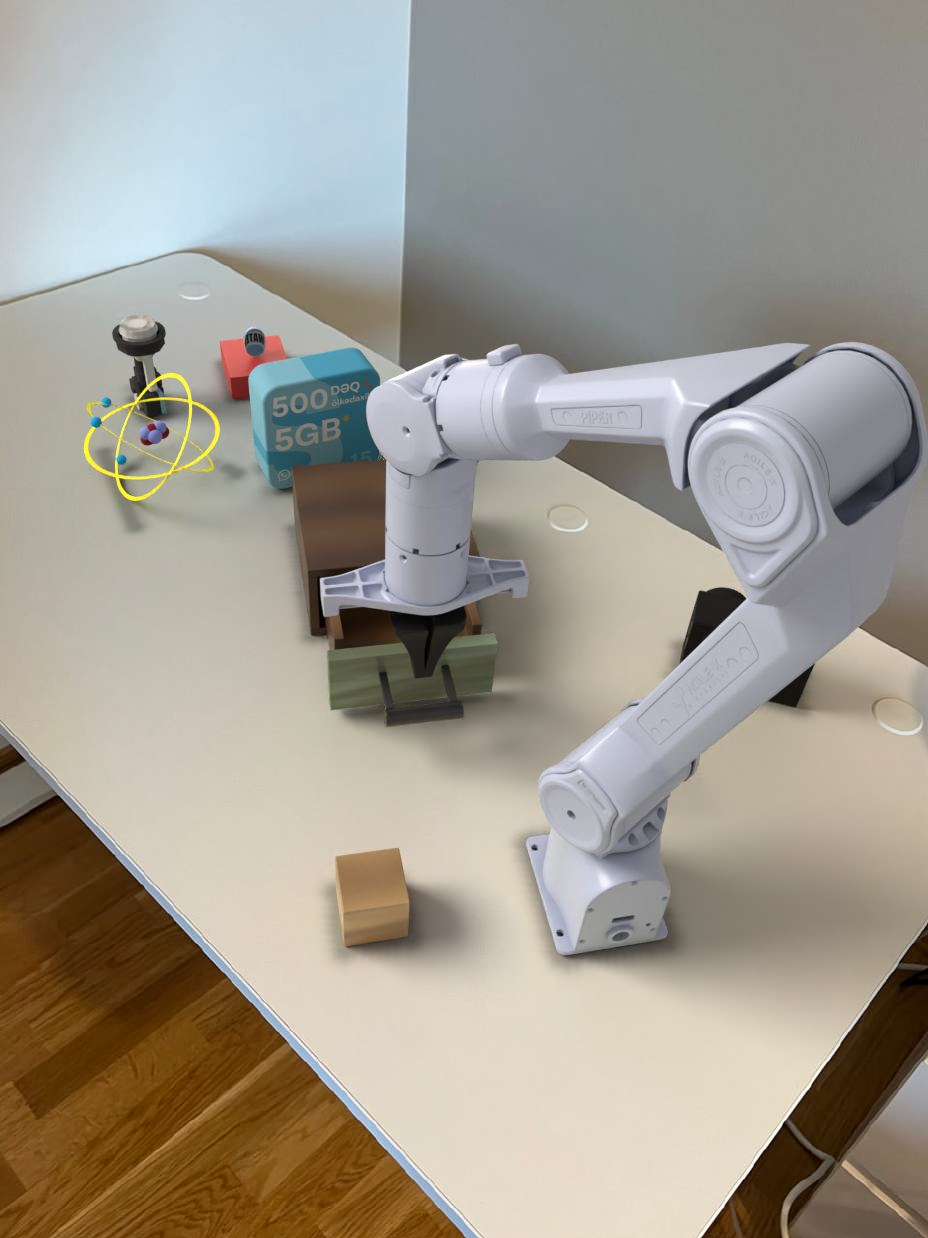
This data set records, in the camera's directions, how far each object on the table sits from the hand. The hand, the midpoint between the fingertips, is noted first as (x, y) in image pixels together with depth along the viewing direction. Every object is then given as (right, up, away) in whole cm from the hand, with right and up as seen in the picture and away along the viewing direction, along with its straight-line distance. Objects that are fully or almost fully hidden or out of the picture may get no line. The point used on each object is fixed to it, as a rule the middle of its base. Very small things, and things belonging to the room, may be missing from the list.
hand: (421, 668), depth 81 cm
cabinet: (-5, +8, +19) cm, 21 cm away
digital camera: (+27, -1, +13) cm, 30 cm away
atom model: (-28, +18, +27) cm, 42 cm away
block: (-3, -17, -6) cm, 18 cm away
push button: (-31, +27, +37) cm, 55 cm away
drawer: (-2, 0, +10) cm, 10 cm away
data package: (-12, +19, +30) cm, 38 cm away
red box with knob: (-21, +31, +42) cm, 56 cm away
